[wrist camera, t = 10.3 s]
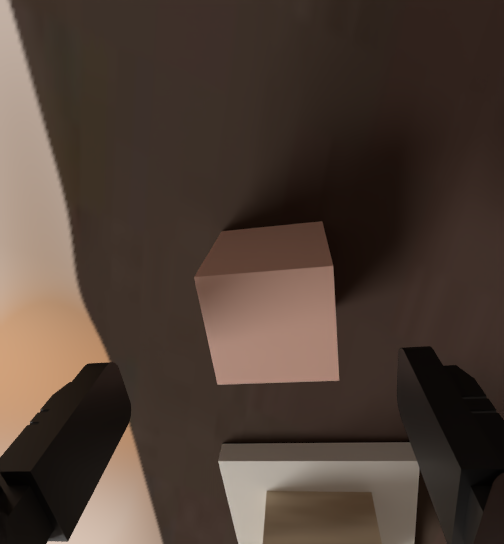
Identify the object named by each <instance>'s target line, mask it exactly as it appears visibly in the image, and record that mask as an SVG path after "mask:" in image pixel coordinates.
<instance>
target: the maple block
mask: <svg viewBox="0 0 504 544" xmlns="http://www.w3.org/2000/svg"><path fill="white" fill-rule="evenodd" d="M263 544H382V542H381V537H380V532H379V527H378V522H377V517H376V512H375V507H374V502H373V497H372V492H317V491H267V492H266V506H265V519H264V533H263Z"/></svg>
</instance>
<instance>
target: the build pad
mask: <svg viewBox="0 0 504 544" xmlns="http://www.w3.org/2000/svg"><path fill="white" fill-rule="evenodd" d="M218 462H219V466H220V470H221V474H222V478H223V482H224V487H225V491H226V495H227V499H228V503H229V507H230V511H231V515H232V519H233V523H234V528H235V532H236V536H237V540H238V544H263V533H264V519H265V506H266V492H267V491H317V492H372V497H373V502H374V507H375V512H376V517H377V522H378V527H379V532H380V537H381V542H382V544H414V542H415V527H416V513H417V498H418V483H419V469H420V468H419V465H418V462H417V460H416V457H415V454H414V452H413V449H412V446H411V443H410V442H373V443H253V444H222V447H221V451H220V456H219V460H218Z"/></svg>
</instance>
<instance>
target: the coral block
mask: <svg viewBox="0 0 504 544" xmlns="http://www.w3.org/2000/svg"><path fill="white" fill-rule="evenodd" d="M194 279H195V284H196V288H197V293H198V297H199V302H200V306H201V311H202V316H203V320H204V325H205V329H206V334H207V338H208V343H209V347H210V352H211V357H212V361H213V366H214V370H215V375H216V379H217V384H218V385H221V384H251V383H281V382H310V381H339V369H338V349H337V329H336V309H335V289H334V269H333V263H332V258H331V254H330V250H329V246H328V242H327V238H326V234H325V230H324V226H323V222H322V221H319V222H309V223H300V224H290V225H280V226H270V227H260V228H250V229H240V230H230V231H221V233H220V235H219V236H218V238H217V240H216V241H215V243H214V245H213V246H212V248H211V250H210V251H209V253H208V255H207V256H206V258H205V260H204V261H203V263H202V265H201V266H200V268H199V270H198V271H197V273H196V275H195V277H194Z"/></svg>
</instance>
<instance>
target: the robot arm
mask: <svg viewBox="0 0 504 544" xmlns="http://www.w3.org/2000/svg"><path fill="white" fill-rule="evenodd" d="M397 401H398V408H399V412H400V416H401V419H402V422H403V424H404V427H405V430H406V433H407V435H408V438H409V441H410V443H411V446H412V449H413V452H414V454H415V457H416V460H417V462H418V465H419V468H420V471H421V473H422V476H423V479H424V481H425V484H426V487H427V490H428V492H429V495H430V498H431V500H432V503H433V506H434V509H435V511H436V514H437V517H438V519H439V522H440V525H441V528H442V530H443V533H444V536H445V538H446V541H447V544H504V420H503V419H502V417H501V416H500V415H499V413H496V409H495V407H494V406H493V405H492V403H491V402H490V400H489V399H487V398H486V395H485V393H484V392H483V390H482V389H481V387H480V386H479V385H478V383H477V382H476V380H475V379H474V378H473V377H471V376H470V375H469V374H467V373H466V372H464V371H463V370H462V369H460V368H459V367H458V366H456V365H450V366H443V365H442V363H441V362H440V360H439V358H438V357H437V355H436V353H435V352H434V350H433V349H432V348H431V347H430V346H427V347H408V348H400V349H399V352H398V375H397ZM130 416H131V403H130V400H129V397H128V394H127V391H126V388H125V385H124V382H123V379H122V376H121V373H120V371H119V368H118V366H117V365H116V364H115V363H113V362H110V363H92V364H87V365H85V366H84V367H83V369H82V370H81V371H80V373H79V374H78V375H77V376H76V377H75V379H74V380H73V381H72V382H69V383H68V384H66V385H65V386H64V387H63V388H61V389H60V390H59V391H57V392H56V393H55V394H53V395H52V396H51V398H50V399H49V400H48V401H47V402H46V404H45V405H44V406H43V407H42V408H41V411H40V413H37V414H36V415H35V417H34V418H33V419H32V420H31V421H30V425H27V426H26V427H25V429H24V430H23V431H22V432H21V434H20V435H19V436H18V437H17V438H16V439H15V441H14V442H13V443H12V444H11V445H10V447H9V448H8V449H7V450H6V451H5V452H4V454H3V455H2V456H1V457H0V544H46V543H47V541H66V542H67V541H68V540H69V538H70V536H71V534H72V532H73V531H74V528H75V526H76V525H77V523H78V521H79V519H80V517H81V515H82V513H83V511H84V509H85V507H86V505H87V503H88V501H89V500H90V498H91V496H92V494H93V492H94V490H95V488H96V486H97V484H98V482H99V480H100V478H101V476H102V474H103V472H104V470H105V468H106V467H107V465H108V463H109V461H110V459H111V457H112V455H113V453H114V451H115V449H116V447H117V445H118V443H119V441H120V439H121V437H122V435H123V434H124V432H125V430H126V427H127V426H128V424H129V421H130Z"/></svg>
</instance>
